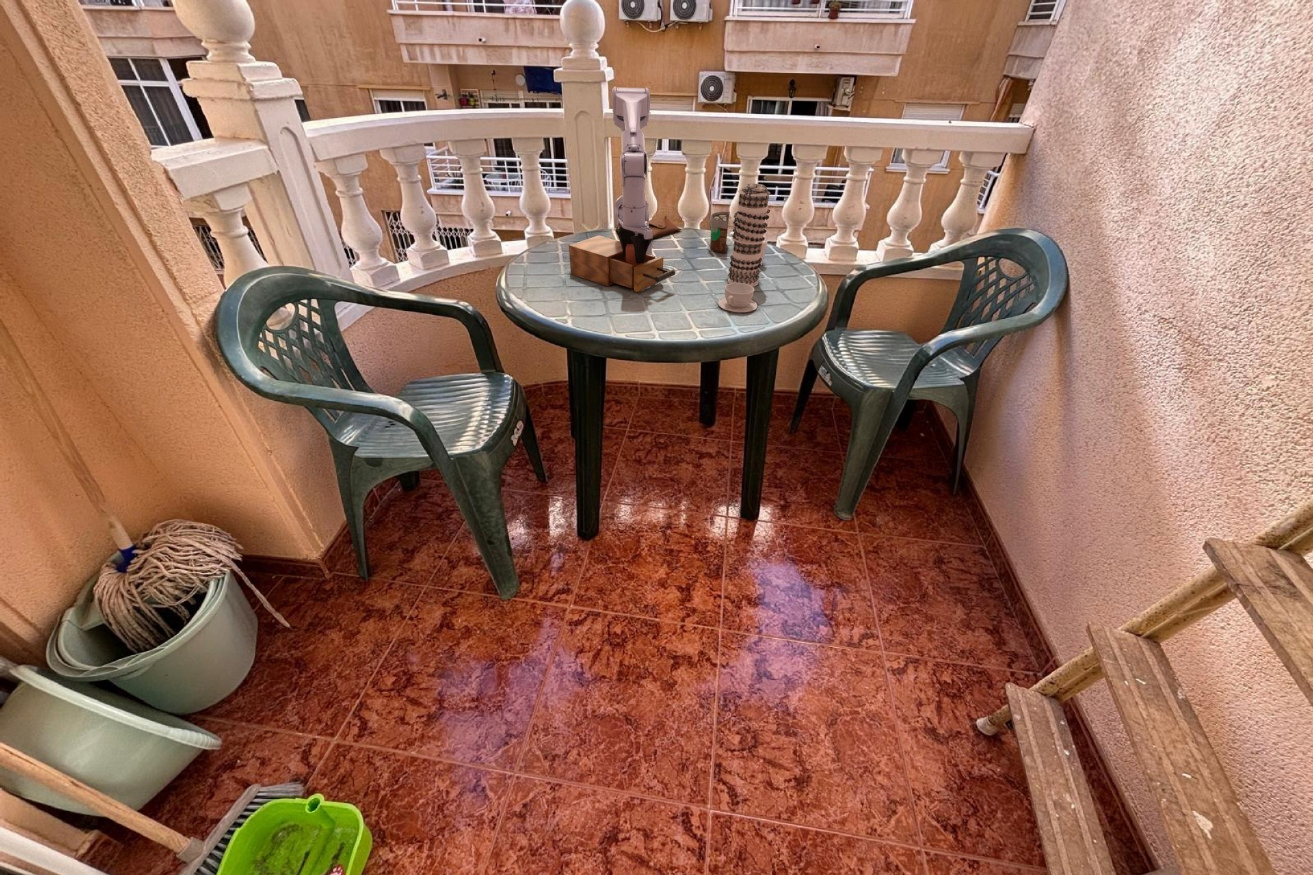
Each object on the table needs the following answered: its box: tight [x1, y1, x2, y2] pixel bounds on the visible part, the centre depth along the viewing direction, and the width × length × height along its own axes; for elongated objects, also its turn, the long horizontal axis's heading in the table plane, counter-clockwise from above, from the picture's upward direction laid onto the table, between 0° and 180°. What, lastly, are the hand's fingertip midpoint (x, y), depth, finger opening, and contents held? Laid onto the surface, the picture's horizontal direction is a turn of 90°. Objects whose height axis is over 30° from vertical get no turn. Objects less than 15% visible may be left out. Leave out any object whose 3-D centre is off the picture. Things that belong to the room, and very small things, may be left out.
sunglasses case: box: [649, 216, 682, 240], centre depth 182 cm, size 18×7×7 cm, turn 139°
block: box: [626, 244, 641, 267], centre depth 141 cm, size 4×4×5 cm
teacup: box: [717, 283, 758, 313], centre depth 134 cm, size 10×10×5 cm
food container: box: [708, 211, 730, 254], centre depth 170 cm, size 12×6×10 cm, turn 172°
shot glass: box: [760, 238, 769, 266], centre depth 160 cm, size 7×7×7 cm
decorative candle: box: [727, 183, 771, 288], centre depth 142 cm, size 9×9×25 cm
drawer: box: [608, 253, 676, 293], centre depth 143 cm, size 19×11×6 cm, turn 52°
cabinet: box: [568, 235, 623, 287], centre depth 149 cm, size 14×12×8 cm
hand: (633, 259), depth 142 cm, fingers closed on block, 5 cm apart
